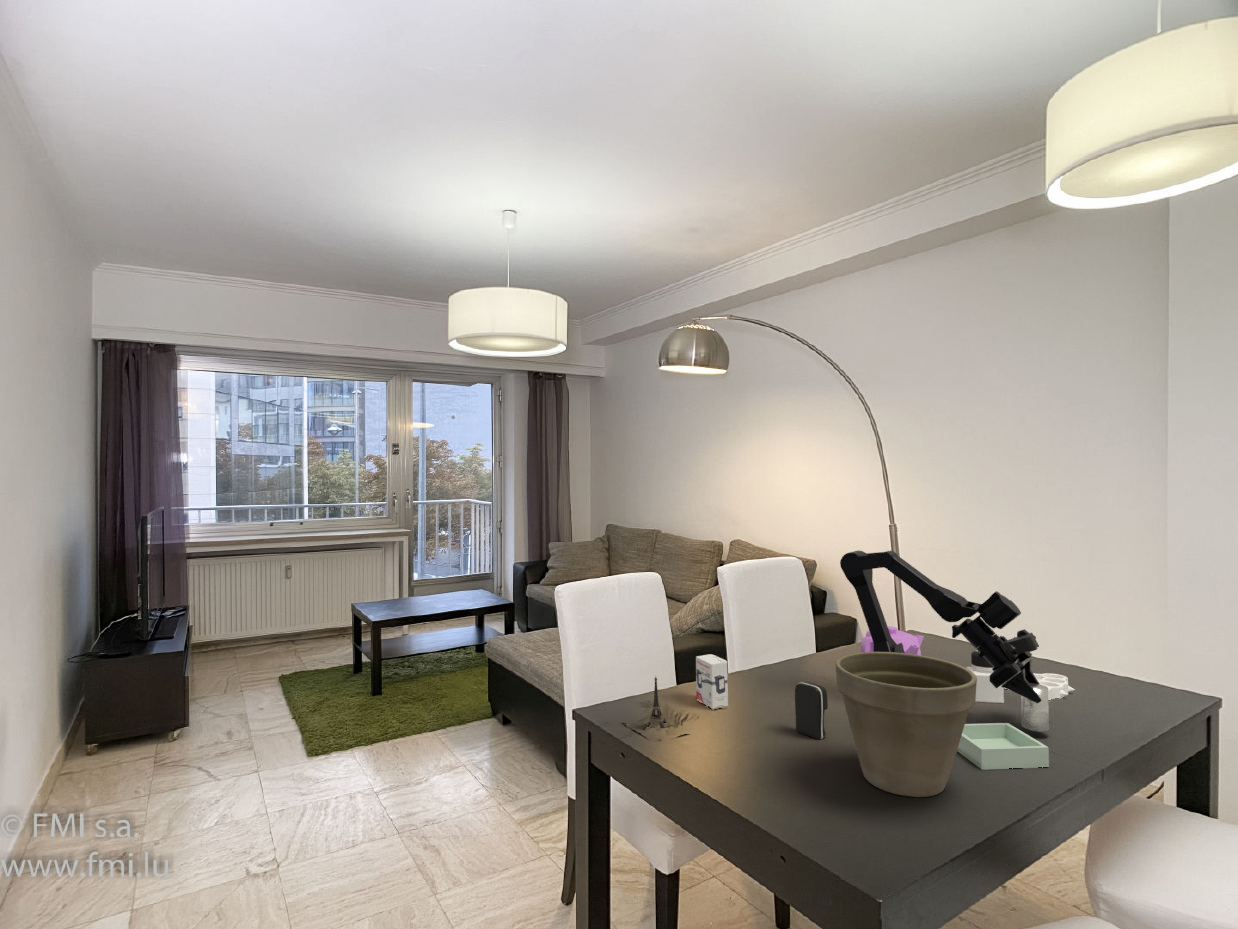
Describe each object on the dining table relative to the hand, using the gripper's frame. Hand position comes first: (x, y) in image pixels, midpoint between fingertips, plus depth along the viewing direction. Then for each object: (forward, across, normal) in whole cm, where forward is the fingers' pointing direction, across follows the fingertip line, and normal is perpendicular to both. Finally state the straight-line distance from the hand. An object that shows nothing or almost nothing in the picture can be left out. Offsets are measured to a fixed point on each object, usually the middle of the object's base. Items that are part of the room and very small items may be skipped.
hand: (1041, 698), depth 154 cm
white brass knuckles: (+2, +36, +10) cm, 38 cm away
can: (+4, 0, +6) cm, 7 cm away
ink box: (-43, -25, +56) cm, 75 cm away
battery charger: (-23, -29, +35) cm, 51 cm away
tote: (+2, -17, +10) cm, 20 cm away
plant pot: (-6, -41, +18) cm, 45 cm away
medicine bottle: (-5, +21, +17) cm, 27 cm away
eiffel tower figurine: (-44, -48, +57) cm, 86 cm away
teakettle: (-24, +35, +37) cm, 56 cm away
